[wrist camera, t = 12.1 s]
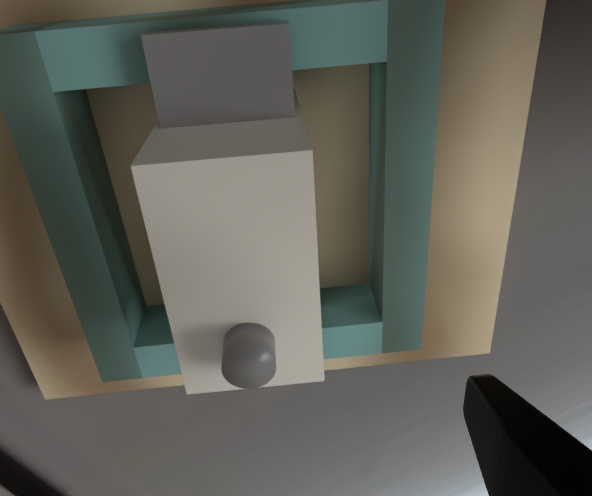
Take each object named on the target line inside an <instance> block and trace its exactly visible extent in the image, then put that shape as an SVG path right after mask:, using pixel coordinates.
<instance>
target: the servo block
mask: <svg viewBox="0 0 592 496" xmlns="http://www.w3.org/2000/svg"><path fill="white" fill-rule="evenodd" d="M141 39H142V44H143V49H144V54H145V58H146V63H147V68H148V73H149V78H150V83H151V87H152V92H153V97H154V102H155V107H156V111H157V116H158V121H157V123H156V124H155V126H154V128H153V129H152V131H151V133H150V134H149V136H148V138H147V139H146V141H145V143H144V144H143V146H142V148H141V149H140V151H139V153H138V154H137V156H136V158H135V159H134V161H133V163H132V164H131V170H132V174H133V178H134V183H135V187H136V191H137V195H138V199H139V203H140V207H141V211H142V215H143V219H144V223H145V227H146V231H147V235H148V239H149V243H150V247H151V251H152V255H153V259H154V263H155V267H156V271H157V275H158V280H159V284H160V288H161V292H162V296H163V300H164V304H165V308H166V312H167V316H168V320H169V324H170V328H171V332H172V336H173V340H174V344H175V348H176V352H177V356H178V360H179V364H180V368H181V373H182V377H183V381H184V385H185V389H186V393H187V394H197V393H207V392H217V391H227V390H237V389H252V388H258V387H268V386H278V385H288V384H298V383H308V382H318V381H325V380H324V361H323V341H322V322H321V303H320V284H319V265H318V245H317V226H316V207H315V188H314V168H313V150H312V147H311V143H310V140H309V136H308V133H307V129H306V126H305V122H304V119H303V115H302V112H301V109H300V105H299V102H298V98H297V95H296V91H295V88H294V89H293V75H292V61H291V46H290V31H289V22H288V21H278V22H266V23H253V24H241V25H228V26H216V27H204V28H191V29H179V30H166V31H154V32H145V33H144V34H142V35H141Z"/></svg>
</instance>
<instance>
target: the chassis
mask: <svg viewBox="0 0 592 496" xmlns="http://www.w3.org/2000/svg"><path fill="white" fill-rule="evenodd" d="M545 6H546V0H0V303H1V305H2V307H3V309H4V312H5V314H6V316H7V318H8V320H9V322H10V325H11V327H12V329H13V331H14V333H15V335H16V338H17V340H18V342H19V344H20V346H21V348H22V351H23V353H24V355H25V357H26V359H27V361H28V364H29V366H30V368H31V370H32V372H33V374H34V377H35V379H36V381H37V383H38V385H39V387H40V390H41V392H42V394H43V396H44V398H45V399H55V398H64V397H74V396H83V395H93V394H103V393H112V392H122V391H131V390H141V389H151V388H160V387H170V386H180V385H184V381H183V377H182V373H181V368H180V364H179V360H178V356H177V352H176V348H175V344H174V340H173V336H172V332H171V328H170V324H169V320H168V316H167V312H166V308H165V304H164V300H163V296H162V292H161V288H160V284H159V280H158V275H157V271H156V267H155V263H154V259H153V255H152V251H151V247H150V243H149V239H148V235H147V231H146V227H145V223H144V219H143V215H142V211H141V207H140V203H139V199H138V195H137V191H136V187H135V183H134V178H133V174H132V170H131V164H132V163H133V161H134V159H135V158H136V156H137V154H138V153H139V151H140V149H141V148H142V146H143V144H144V143H145V141H146V139H147V138H148V136H149V134H150V133H151V131H152V129H153V128H154V126H155V124H156V123H157V121H158V116H157V111H156V107H155V102H154V97H153V92H152V87H151V83H150V78H149V73H148V68H147V63H146V58H145V54H144V49H143V44H142V39H141V35H142V34H144V33H145V32H154V31H166V30H179V29H191V28H204V27H216V26H228V25H241V24H253V23H266V22H278V21H288V22H289V31H290V46H291V61H292V75H293V89H294V88H295V91H296V95H297V98H298V102H299V105H300V109H301V112H302V115H303V119H304V122H305V126H306V129H307V133H308V136H309V140H310V143H311V147H312V150H313V168H314V188H315V207H316V226H317V245H318V265H319V284H320V303H321V322H322V341H323V361H324V370H333V369H343V368H352V367H362V366H372V365H381V364H391V363H400V362H410V361H420V360H429V359H439V358H449V357H458V356H468V355H477V354H487V353H490V348H491V342H492V336H493V330H494V323H495V317H496V311H497V305H498V299H499V292H500V286H501V280H502V274H503V267H504V261H505V255H506V249H507V243H508V236H509V230H510V224H511V218H512V211H513V205H514V199H515V193H516V187H517V180H518V174H519V168H520V162H521V155H522V149H523V143H524V137H525V131H526V124H527V118H528V112H529V106H530V99H531V93H532V87H533V81H534V75H535V68H536V62H537V56H538V50H539V43H540V37H541V31H542V25H543V19H544V12H545Z"/></svg>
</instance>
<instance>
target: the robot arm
mask: <svg viewBox="0 0 592 496" xmlns="http://www.w3.org/2000/svg"><path fill="white" fill-rule="evenodd" d="M463 412H464V418H465V421H466V425H467V428H468V431H469V434H470V437H471V441H472V444H473V447H474V450H475V453H476V457H477V460H478V463H479V466H480V469H481V472H482V476H483V479H484V482H485V485H486V488H487V491H488V494H489V496H592V450H590V449H589V448H588V447H586V446H585V445H584V444H582V443H581V442H580V441H578V440H577V439H576V438H575V437H573V436H572V435H571V434H569V433H568V432H567V431H565V430H564V429H563V428H561V427H560V426H559V425H557V424H556V423H555V422H554V421H552V420H551V419H550V418H548V417H547V416H546V415H544V414H543V413H542V412H540V411H539V410H538V409H536V408H535V407H534V406H533V405H531V404H530V403H529V402H527V401H526V400H525V399H523V398H522V397H521V396H519V395H518V394H517V393H515V392H514V391H513V390H512V389H510V388H509V387H508V386H506V385H505V384H504V383H502V382H501V381H500V380H498V379H497V378H496V377H494V376H493V375H490V374H483V375H474V376H470V377H469V378H468V379H467V383H466V391H465V398H464V405H463Z"/></svg>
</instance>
